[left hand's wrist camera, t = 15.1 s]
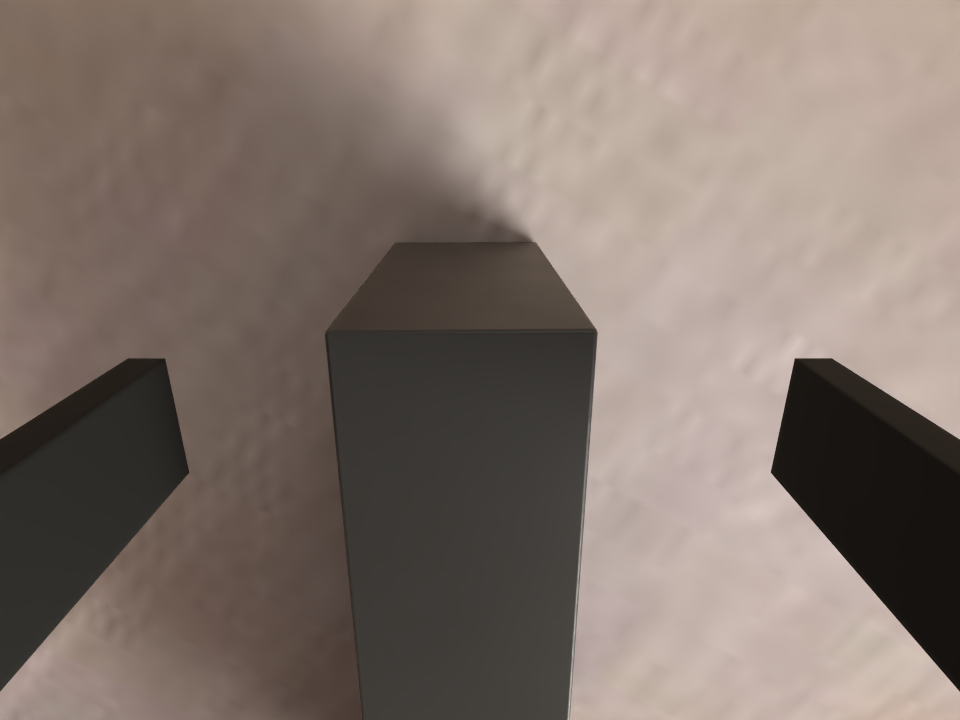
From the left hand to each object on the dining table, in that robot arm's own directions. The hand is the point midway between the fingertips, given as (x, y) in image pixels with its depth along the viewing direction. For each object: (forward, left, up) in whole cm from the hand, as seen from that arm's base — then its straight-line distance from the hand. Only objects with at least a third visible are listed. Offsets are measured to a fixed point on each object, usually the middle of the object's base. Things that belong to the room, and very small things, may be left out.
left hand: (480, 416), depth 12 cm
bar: (+6, +9, -7) cm, 13 cm away
